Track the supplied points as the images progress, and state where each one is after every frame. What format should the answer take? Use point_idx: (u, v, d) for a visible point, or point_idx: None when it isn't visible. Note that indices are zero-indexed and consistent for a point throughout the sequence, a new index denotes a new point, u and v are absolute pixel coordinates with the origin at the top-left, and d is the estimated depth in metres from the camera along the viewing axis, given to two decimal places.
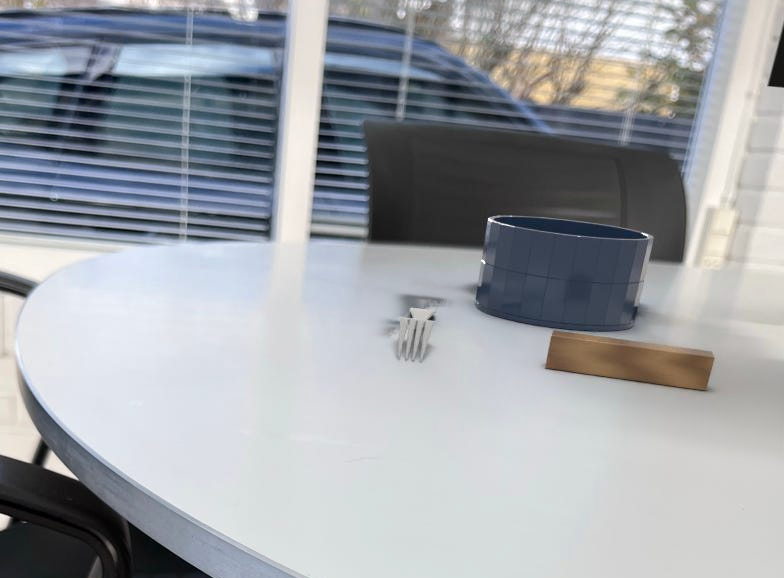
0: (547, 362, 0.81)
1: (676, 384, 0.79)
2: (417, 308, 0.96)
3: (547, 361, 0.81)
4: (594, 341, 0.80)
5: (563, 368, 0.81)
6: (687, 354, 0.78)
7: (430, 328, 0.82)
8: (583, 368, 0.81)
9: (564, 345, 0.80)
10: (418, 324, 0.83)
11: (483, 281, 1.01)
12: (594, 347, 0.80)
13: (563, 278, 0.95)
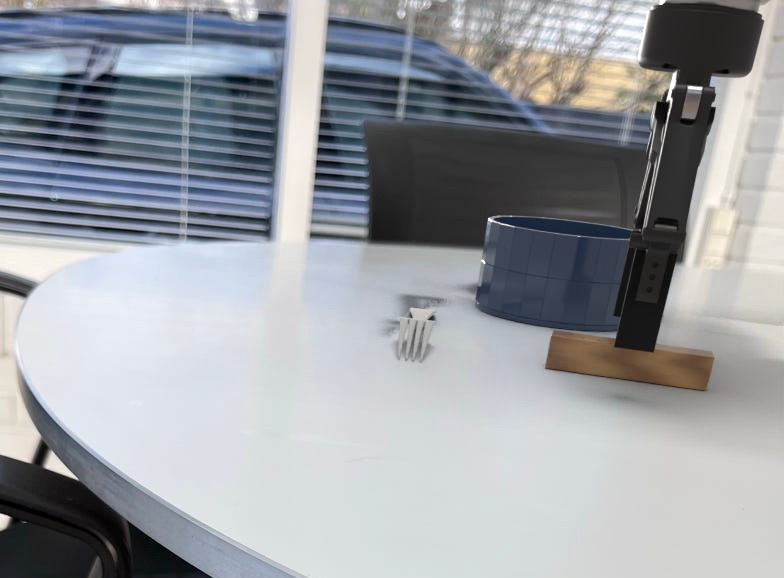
0: (547, 362, 0.81)
1: (676, 384, 0.79)
2: (417, 308, 0.96)
3: (547, 361, 0.81)
4: (594, 341, 0.80)
5: (563, 368, 0.81)
6: (687, 354, 0.78)
7: (430, 328, 0.82)
8: (583, 368, 0.81)
9: (564, 345, 0.80)
10: (418, 324, 0.83)
11: (483, 281, 1.01)
12: (594, 347, 0.80)
13: (563, 278, 0.95)
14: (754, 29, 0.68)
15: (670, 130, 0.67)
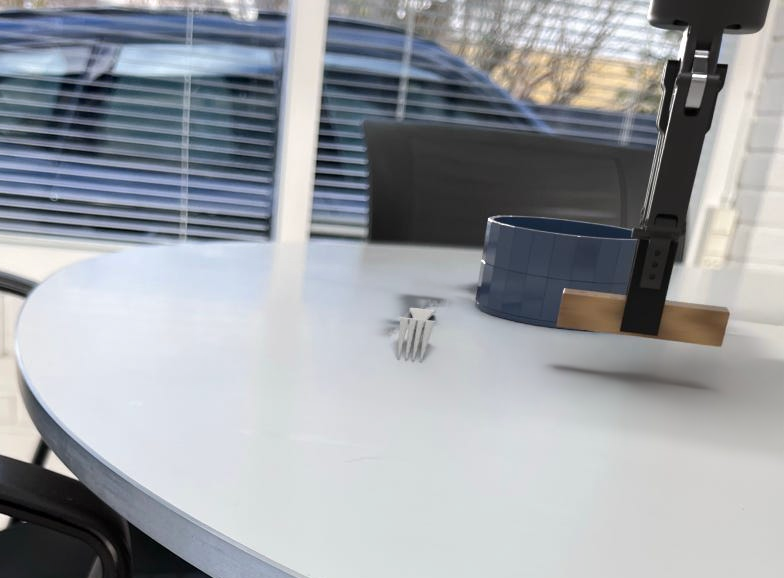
0: (559, 320, 0.80)
1: (691, 341, 0.78)
2: (417, 308, 0.96)
3: (559, 319, 0.80)
4: (607, 298, 0.78)
5: (575, 326, 0.80)
6: (702, 309, 0.77)
7: (430, 328, 0.82)
8: (595, 326, 0.79)
9: (575, 303, 0.79)
10: (418, 324, 0.83)
11: (483, 281, 1.01)
12: (607, 304, 0.78)
13: (563, 278, 0.95)
14: None
15: (673, 122, 0.69)
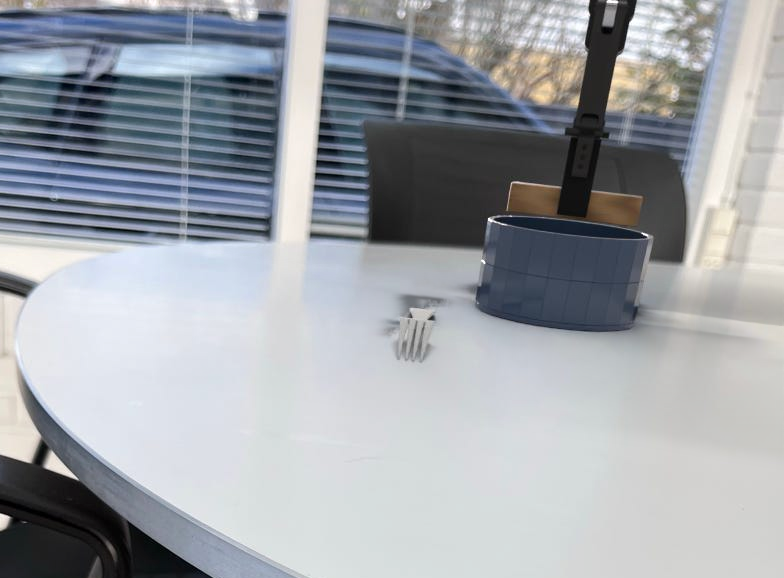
0: (508, 206, 0.99)
1: (612, 222, 0.98)
2: (417, 308, 0.96)
3: (508, 205, 0.99)
4: (546, 187, 0.98)
5: (521, 211, 0.99)
6: (621, 195, 0.97)
7: (430, 328, 0.82)
8: (537, 210, 0.99)
9: (521, 191, 0.98)
10: (418, 324, 0.83)
11: (483, 281, 1.01)
12: (546, 191, 0.98)
13: (563, 278, 0.95)
14: None
15: (593, 38, 0.88)
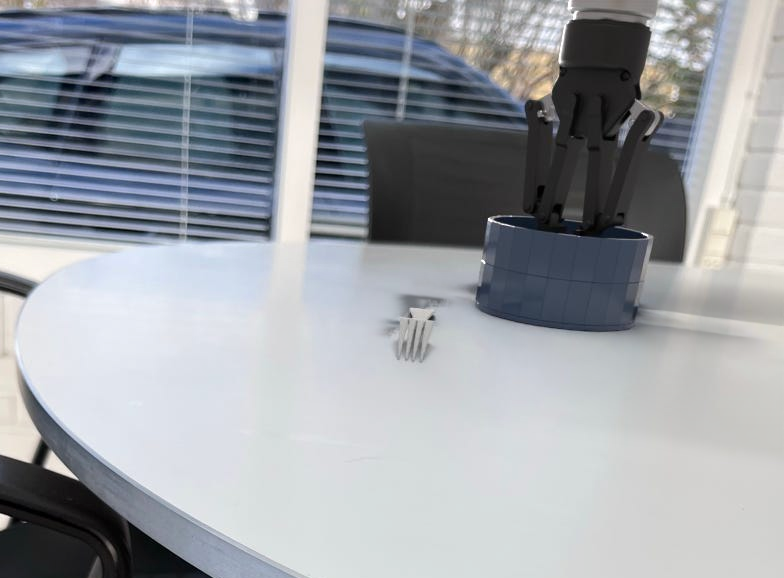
0: None
1: None
2: (417, 308, 0.96)
3: None
4: None
5: None
6: None
7: (430, 328, 0.82)
8: None
9: None
10: (418, 324, 0.83)
11: (483, 281, 1.01)
12: None
13: (563, 278, 0.95)
14: None
15: (636, 146, 0.93)
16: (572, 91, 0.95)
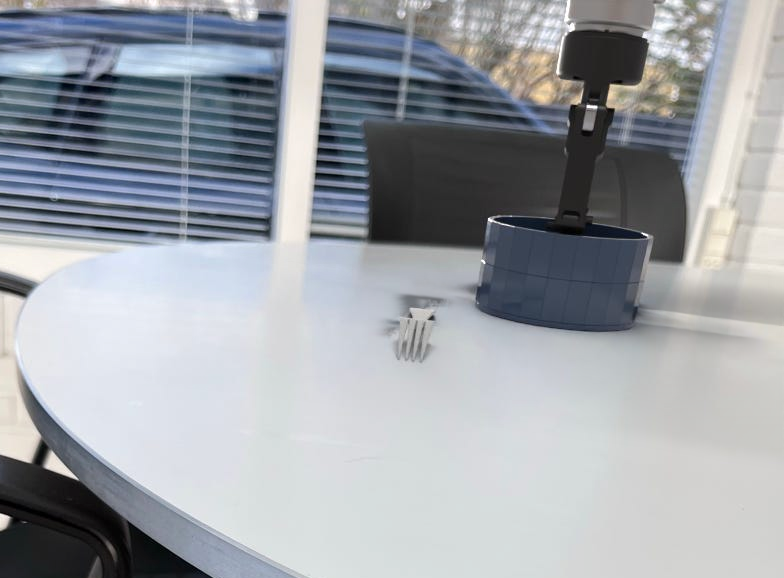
0: None
1: None
2: (417, 308, 0.96)
3: None
4: None
5: None
6: None
7: (430, 328, 0.82)
8: None
9: None
10: (418, 324, 0.83)
11: (483, 281, 1.01)
12: None
13: (563, 278, 0.95)
14: None
15: None
16: None
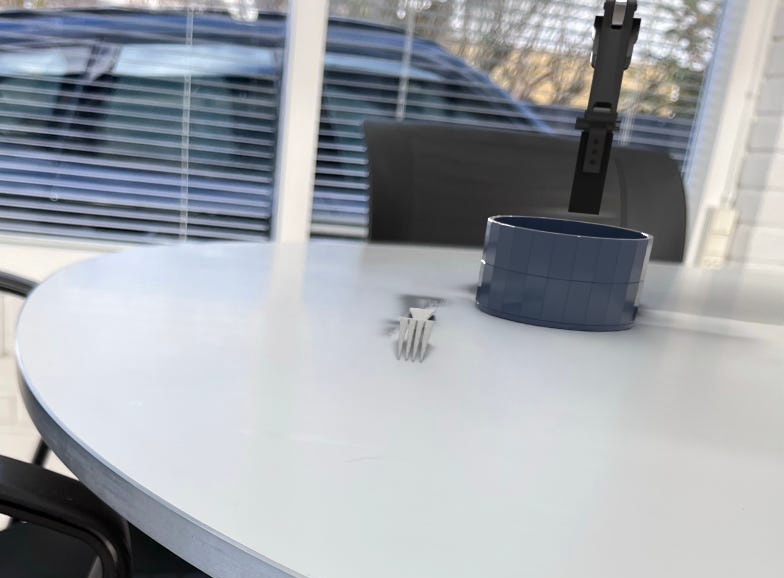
0: None
1: None
2: (417, 308, 0.96)
3: None
4: None
5: None
6: None
7: (430, 328, 0.82)
8: None
9: None
10: (418, 324, 0.83)
11: (483, 281, 1.01)
12: None
13: (563, 278, 0.95)
14: None
15: None
16: None
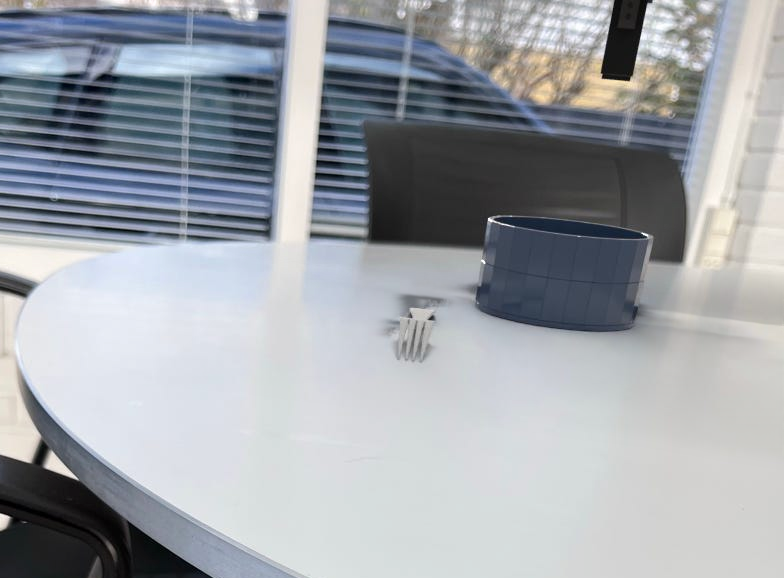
0: None
1: None
2: (417, 308, 0.96)
3: None
4: None
5: None
6: None
7: (430, 328, 0.82)
8: None
9: None
10: (418, 324, 0.83)
11: (483, 281, 1.01)
12: None
13: (563, 278, 0.95)
14: None
15: None
16: None
